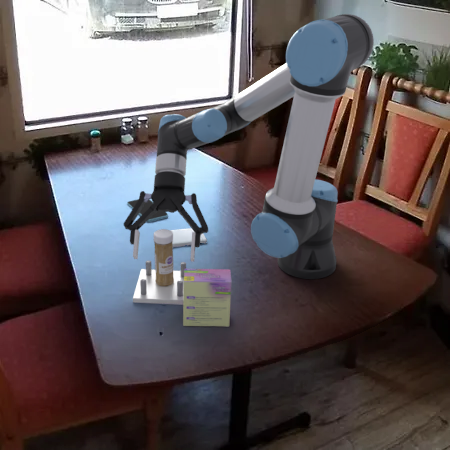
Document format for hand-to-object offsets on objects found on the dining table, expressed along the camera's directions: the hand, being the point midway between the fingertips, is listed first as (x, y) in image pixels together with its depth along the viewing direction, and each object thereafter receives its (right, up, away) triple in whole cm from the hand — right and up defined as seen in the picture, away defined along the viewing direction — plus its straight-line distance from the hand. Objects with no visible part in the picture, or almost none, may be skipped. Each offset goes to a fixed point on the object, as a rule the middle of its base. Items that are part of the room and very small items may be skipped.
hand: (163, 259), depth 152 cm
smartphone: (-9, +12, +42) cm, 44 cm away
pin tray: (0, -7, +4) cm, 8 cm away
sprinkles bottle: (0, -6, +4) cm, 7 cm away
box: (+10, -13, -7) cm, 18 cm away
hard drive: (+2, +4, +27) cm, 27 cm away
